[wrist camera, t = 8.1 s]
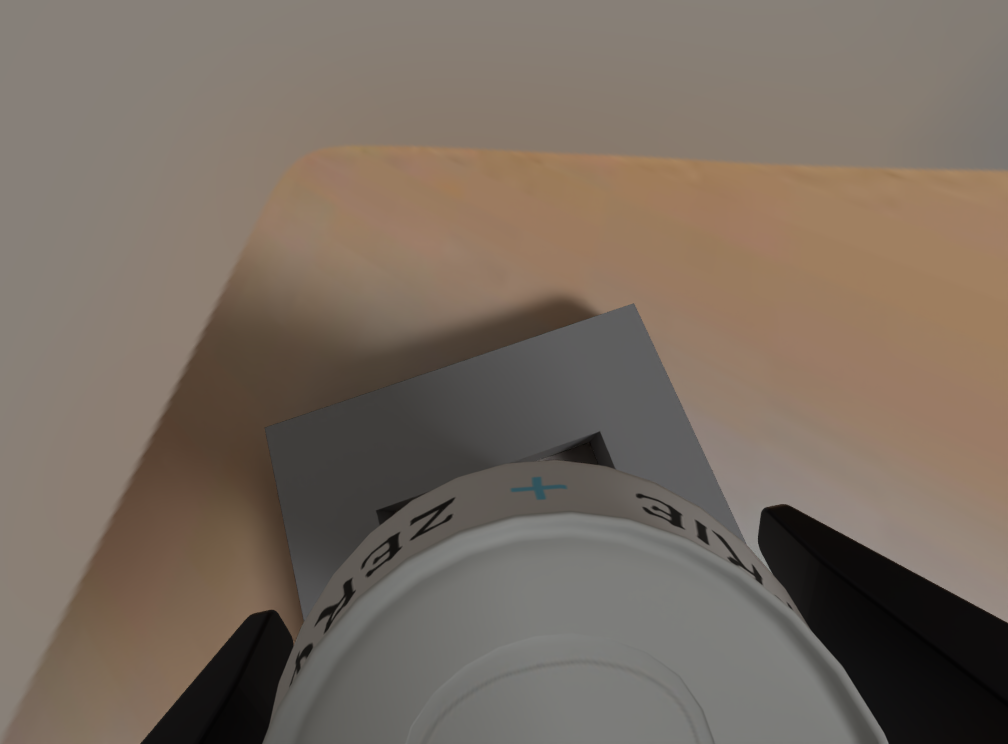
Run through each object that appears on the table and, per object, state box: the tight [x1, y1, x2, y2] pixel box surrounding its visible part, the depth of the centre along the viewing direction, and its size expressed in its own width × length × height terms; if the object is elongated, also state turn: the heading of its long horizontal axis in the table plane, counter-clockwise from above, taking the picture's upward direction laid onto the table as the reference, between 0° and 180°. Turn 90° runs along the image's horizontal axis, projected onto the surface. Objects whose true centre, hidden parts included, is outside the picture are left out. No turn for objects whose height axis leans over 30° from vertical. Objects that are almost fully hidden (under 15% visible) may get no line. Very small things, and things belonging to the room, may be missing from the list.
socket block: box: [265, 303, 747, 621], centre depth 16 cm, size 16×14×2 cm
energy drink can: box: [262, 460, 889, 744], centre depth 10 cm, size 6×6×15 cm
